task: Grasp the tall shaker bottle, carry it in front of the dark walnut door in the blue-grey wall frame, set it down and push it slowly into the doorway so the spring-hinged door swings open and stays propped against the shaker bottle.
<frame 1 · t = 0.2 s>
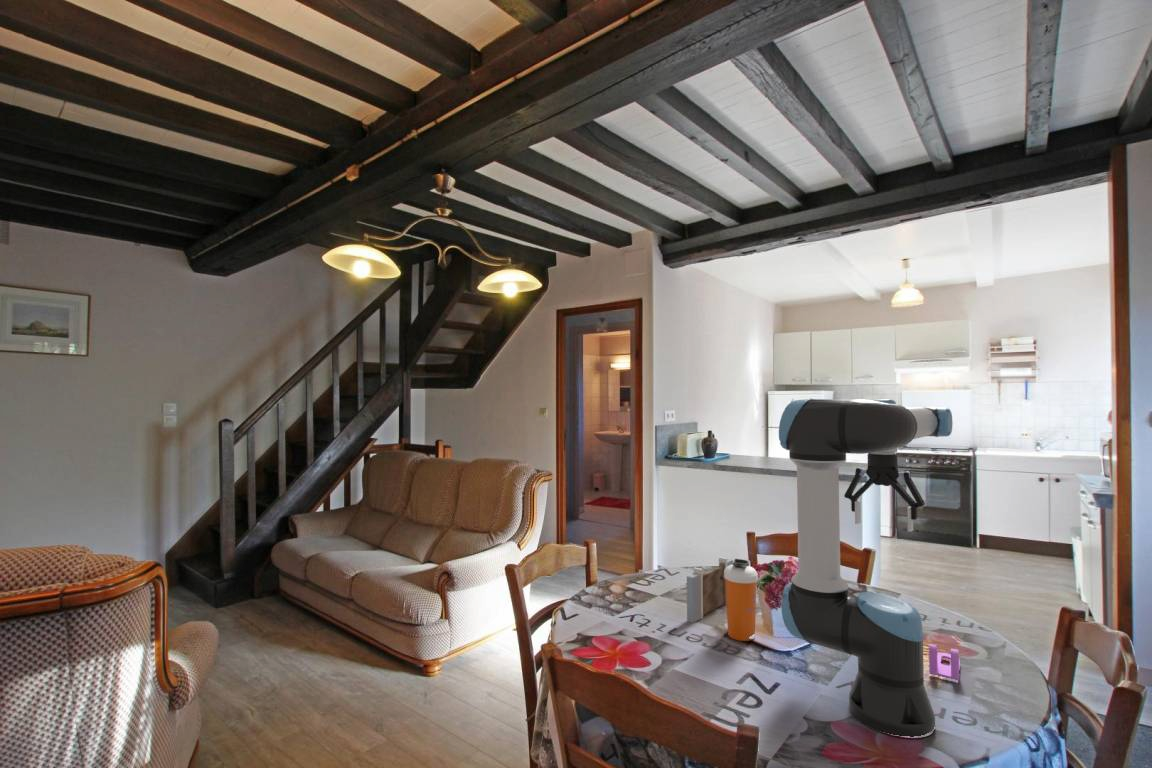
hand: (883, 527, 156), 28 cm above the table, fingers open, 13 cm apart
wall: (711, 610, 166), on the table
bracket: (945, 670, 130), on the table
door: (712, 590, 166), point 6 cm above the table, hinge at 0.0°
shaker bottle: (741, 636, 148), on the table
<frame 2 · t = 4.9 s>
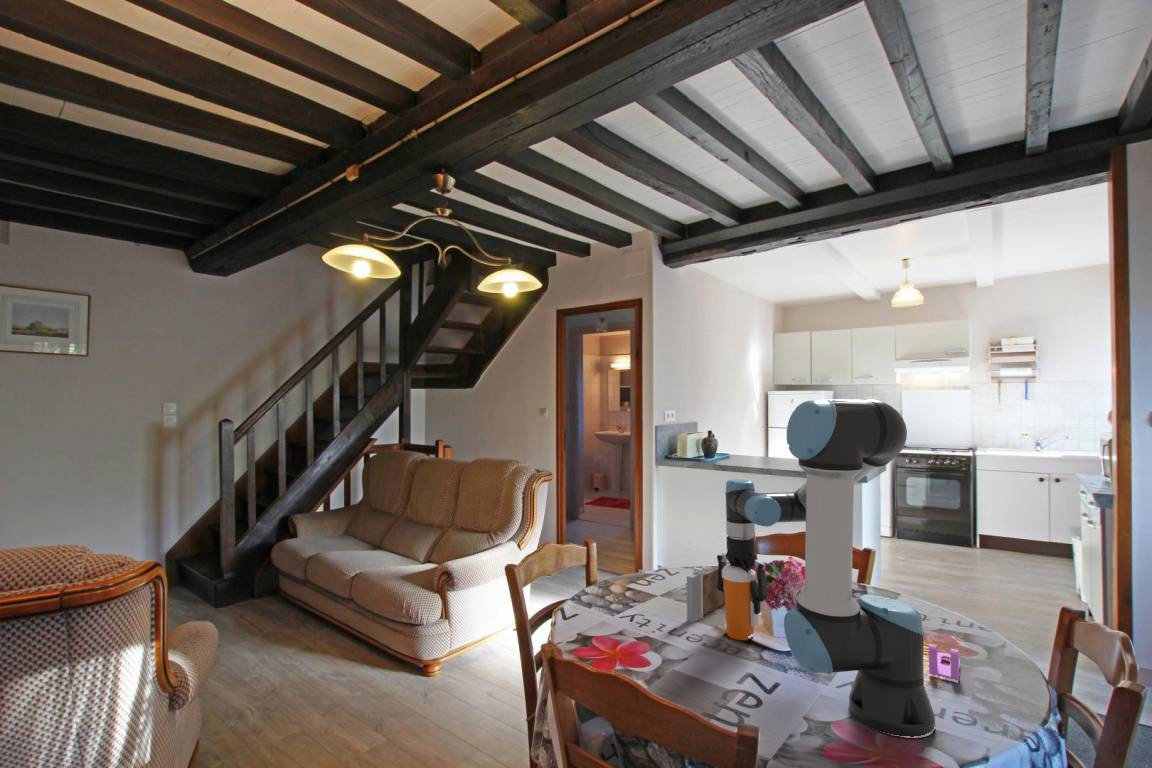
hand: (742, 621, 148), 4 cm above the table, fingers open, 6 cm apart
shaker bottle: (740, 635, 149), on the table, touching gripper, hand
everything else where it was.
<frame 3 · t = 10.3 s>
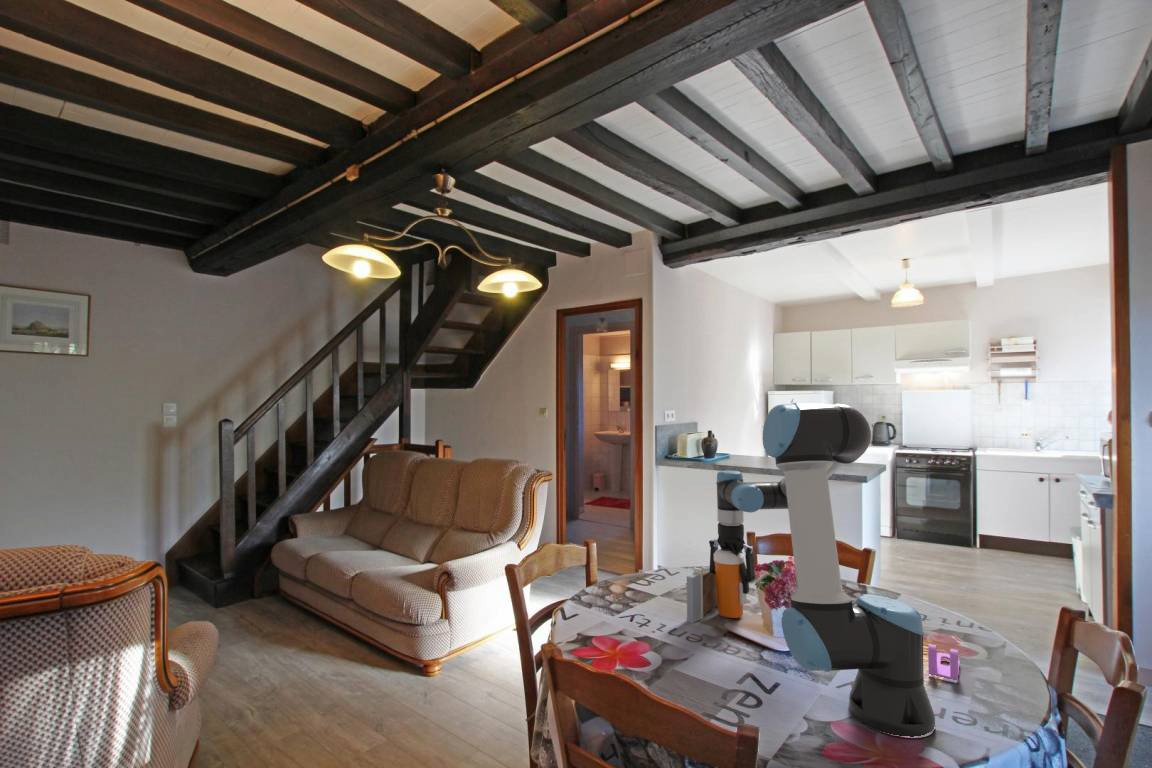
hand: (732, 600, 161), 5 cm above the table, fingers open, 6 cm apart
door: (711, 589, 166), point 6 cm above the table, hinge at 5.1°, touching gripper, hand
shaker bottle: (730, 614, 162), point 1 cm above the table, touching gripper, hand
everything else where it was.
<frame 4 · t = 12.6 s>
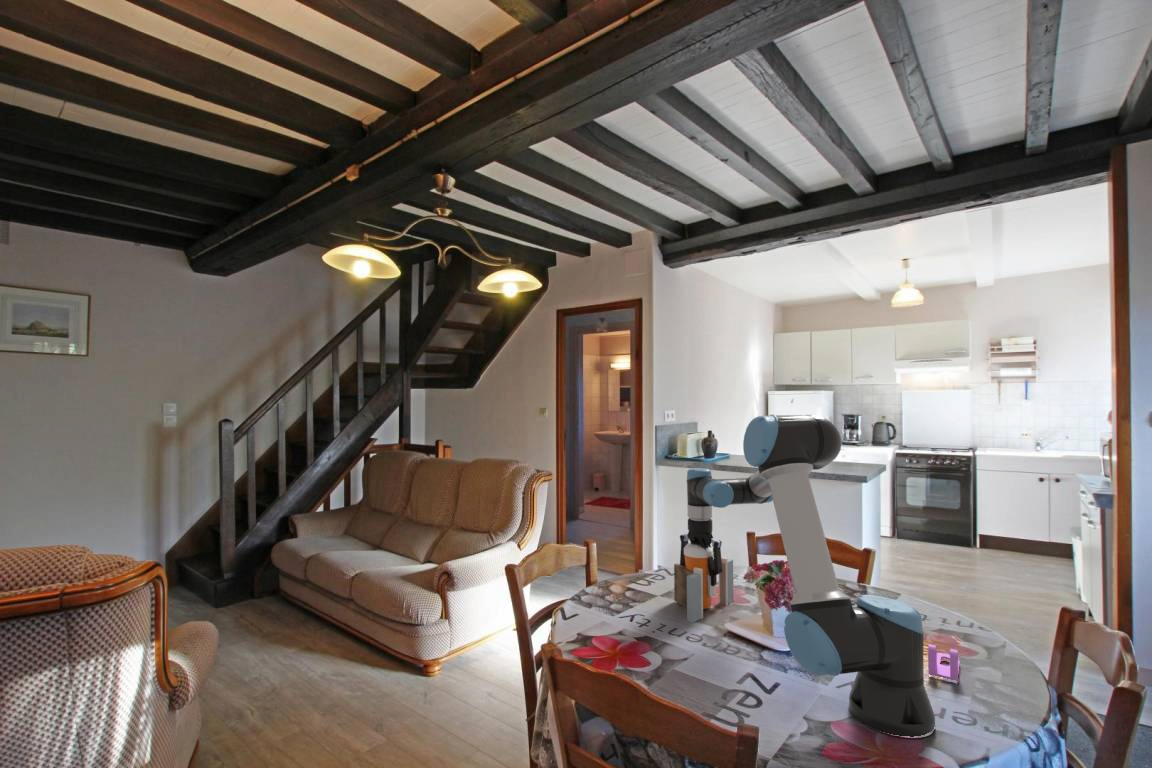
hand: (701, 592, 169), 4 cm above the table, fingers open, 6 cm apart
door: (689, 588, 168), point 6 cm above the table, hinge at 67.6°, touching shaker bottle, gripper, hand
shaker bottle: (699, 605, 169), on the table, touching door, gripper, hand
everything else where it was.
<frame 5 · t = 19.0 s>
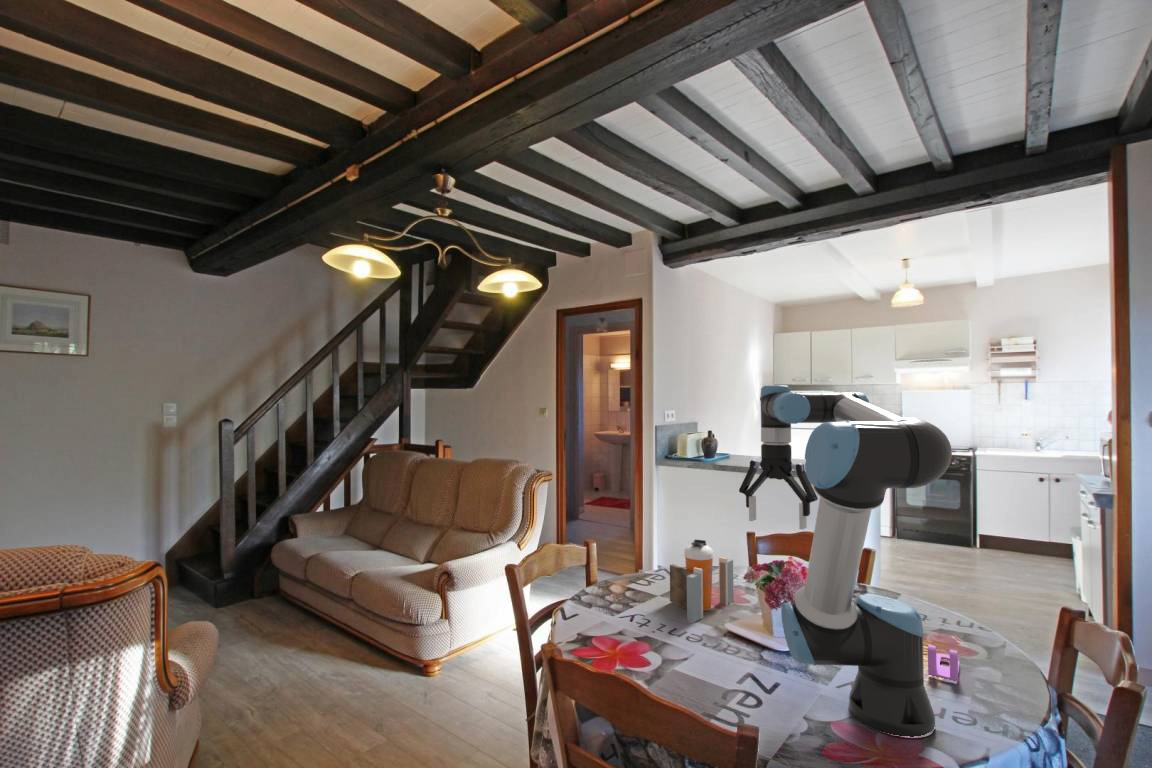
hand: (777, 524, 143), 32 cm above the table, fingers open, 13 cm apart
door: (687, 588, 167), point 6 cm above the table, hinge at 75.7°
shaker bottle: (699, 607, 169), on the table
everything else where it was.
at the end: door at +76° (first picture: +0°); shaker bottle inside the target area (0.5 cm from its centre), on the table; shaker bottle tilted 0° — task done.
